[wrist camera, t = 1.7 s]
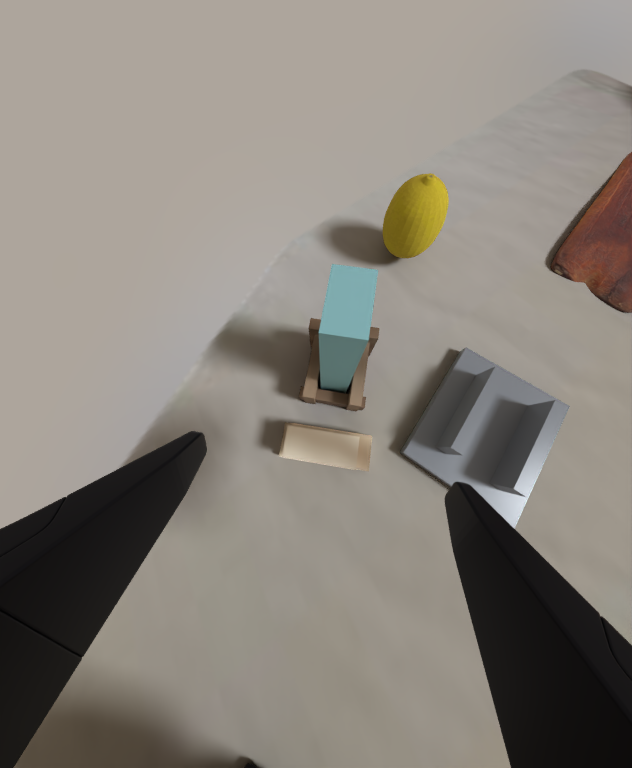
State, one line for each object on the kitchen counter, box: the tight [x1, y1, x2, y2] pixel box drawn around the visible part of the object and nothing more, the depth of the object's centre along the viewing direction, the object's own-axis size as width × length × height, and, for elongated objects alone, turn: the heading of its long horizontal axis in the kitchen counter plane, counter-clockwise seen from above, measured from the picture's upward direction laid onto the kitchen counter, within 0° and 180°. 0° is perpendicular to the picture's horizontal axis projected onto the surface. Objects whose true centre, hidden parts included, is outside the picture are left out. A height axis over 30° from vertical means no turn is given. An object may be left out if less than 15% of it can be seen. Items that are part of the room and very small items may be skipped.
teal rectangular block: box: [319, 264, 378, 393], centre depth 17 cm, size 4×2×12 cm, turn 170°
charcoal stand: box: [400, 348, 570, 528], centre depth 20 cm, size 12×10×4 cm
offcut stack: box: [279, 423, 372, 471], centre depth 20 cm, size 3×8×3 cm, turn 81°
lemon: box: [383, 174, 449, 258], centre depth 23 cm, size 6×6×8 cm
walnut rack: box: [299, 318, 379, 411], centre depth 21 cm, size 7×6×4 cm
